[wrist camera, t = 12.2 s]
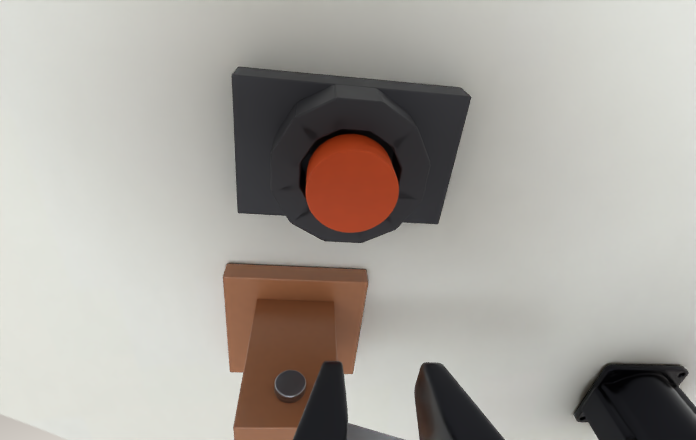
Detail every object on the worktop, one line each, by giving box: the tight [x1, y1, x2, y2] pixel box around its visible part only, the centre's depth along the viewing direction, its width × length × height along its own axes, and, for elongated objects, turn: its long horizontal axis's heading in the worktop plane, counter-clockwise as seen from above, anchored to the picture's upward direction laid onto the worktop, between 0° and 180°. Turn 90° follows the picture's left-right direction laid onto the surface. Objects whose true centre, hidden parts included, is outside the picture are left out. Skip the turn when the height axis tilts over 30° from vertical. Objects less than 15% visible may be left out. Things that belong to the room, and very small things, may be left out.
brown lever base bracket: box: [223, 264, 368, 440], centre depth 22 cm, size 8×8×9 cm
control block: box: [232, 67, 471, 243], centre depth 18 cm, size 10×6×4 cm, turn 84°
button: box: [306, 134, 399, 233], centre depth 16 cm, size 4×4×2 cm
